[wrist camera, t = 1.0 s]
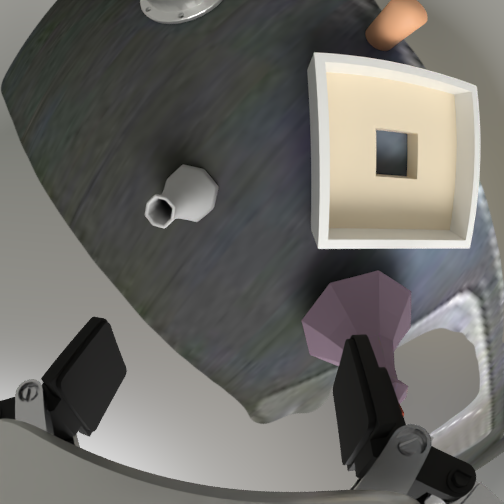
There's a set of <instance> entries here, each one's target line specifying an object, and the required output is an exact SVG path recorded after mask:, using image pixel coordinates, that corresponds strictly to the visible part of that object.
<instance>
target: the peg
mask: <svg viewBox="0 0 504 504" xmlns="http://www.w3.org/2000/svg"><path fill="white" fill-rule="evenodd" d="M426 22H427V13H426V11H425V9H424V8H423V6H422V5H421V4H420V3H419V2H418V1H417V0H391V1H390V2H389V3H388V4H387V5H386V7H385V8H384V9H383V10H382V11H381V12H380V14H379V15H378V16H377V17H376V18H375V20H374V21H373V22H372V23H371V24H370V26H369V27H368V28H367V29H366V32H365V36H366V39H367V41H368V42H369V43H370V44H371V45H372V46H373V47H374V48H376V49H378V50H381V51H387V50H390V49H391V48H393V47H394V46H395V45H397V44H398V43H399V42H400V41H402V40H403V39H404V38H406V37H407V36H408V35H410V34H411V33H412V32H413V31H415V30H416V29H418V28H419V27H421V26H422V25H424V24H425V23H426Z"/></svg>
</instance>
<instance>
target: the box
mask: <svg viewBox="0 0 504 504" xmlns="http://www.w3.org/2000/svg"><path fill="white" fill-rule="evenodd" d="M307 76H308V92H309V110H310V136H311V231H312V233H313V236H314V239H315V242H316V244H317V247H318V249H400V248H470V244H471V239H472V233H473V227H474V221H475V214H476V206H477V198H478V187H479V173H480V117H479V104H478V93H477V86H475V85H473V84H470V83H467V82H465V81H462V80H459V79H456V78H453V77H450V76H447V75H443V74H440V73H437V72H433V71H430V70H426V69H422V68H418V67H414V66H410V65H405V64H401V63H396V62H391V61H386V60H380V59H374V58H367V57H360V56H352V55H342V54H331V53H315V52H314V54H313V56H312V59H311V62H310V64H309V67H308V69H307ZM376 130H382V131H390V132H398V133H406V134H407V176H397V175H384V174H376Z"/></svg>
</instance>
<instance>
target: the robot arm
mask: <svg viewBox="0 0 504 504" xmlns="http://www.w3.org/2000/svg"><path fill="white" fill-rule="evenodd" d="M221 1H222V0H140V6H141V9H142V11H143V12H144V14H145V15H146V16H148V17H149V18H150V19H152V20H154V21H156V22H159V23H165V24H177V23H183V22H187V21H190V20H194V19H196V18H198V17H201V16H203V15H205V14H206V13H208V12H210V11H211V10H212V9H214V8H215V7H216V6H218V5H219V4H220V3H221ZM125 375H126V366H125V364H124V361H123V358H122V356H121V353H120V351H119V348H118V345H117V343H116V340H115V337H114V334H113V331H112V328H111V325H110V324H109V323H108V322H107V320H106V319H104V318H98V317H92V318H91V319H90V320H89V322H87V324H86V325H85V326H84V327H83V328H82V329H81V330H80V332H79V333H78V334H77V335H76V336H75V337H74V339H73V340H72V341H71V342H70V344H69V345H68V346H67V347H66V348H65V350H64V351H63V352H62V353H61V354H60V355H59V357H58V358H57V360H55V362H54V363H53V364H52V365H51V367H50V368H49V369H48V371H47V372H46V373H45V374H44V376H43V377H42V378H41V379H42V381H43V382H44V383H43V384H42V385H41V383H40V382H39V381H37V380H34V379H31V380H27V381H24V382H23V383H22V384H20V385H19V387H18V388H17V390H16V395H15V397H13V398H9V399H6V400H2V401H0V504H504V503H503V502H502V501H501V500H500V499H499V498H498V497H497V496H496V495H495V494H494V493H493V492H492V491H491V490H489V489H488V488H487V487H486V486H485V485H484V484H483V483H482V482H480V483H479V484H478V483H477V482H476V473H475V470H474V469H473V467H472V466H471V465H470V464H468V463H466V462H464V461H462V460H459V459H457V458H455V457H453V456H451V455H449V454H447V453H444V452H442V451H440V450H438V449H436V448H434V447H432V446H431V437H430V435H429V433H428V432H427V431H426V430H425V429H424V428H422V427H421V426H418V425H414V424H410V425H409V424H408V425H406V424H405V421H404V418H403V414H402V411H401V408H400V405H399V402H398V399H397V396H396V393H395V390H394V388H393V385H392V382H391V379H390V376H389V374H388V371H387V369H386V368H385V367H379V365H378V362H377V360H376V357H375V354H374V351H373V349H372V346H371V343H370V341H369V338H368V336H367V335H366V334H361V335H351V337H350V339H346V341H345V344H344V348H343V352H342V356H341V360H340V364H339V368H338V371H337V375H336V378H335V382H334V386H333V396H334V402H335V410H336V417H337V424H338V432H339V439H340V448H341V456H342V463H343V465H347V468H348V471H353V470H355V471H356V476H357V477H358V480H357V481H356V482H355V483H354V485H353V486H352V487H351V488H350V490H338V491H318V492H317V491H316V492H265V491H248V490H237V489H228V488H220V487H213V486H206V485H200V484H194V483H189V482H184V481H180V480H175V479H171V478H166V477H162V476H158V475H155V474H151V473H148V472H144V471H141V470H137V469H134V468H131V467H128V466H125V465H122V464H119V463H116V462H114V461H111V460H108V459H106V458H103V457H101V456H98V455H95V454H93V453H91V452H88V451H86V450H84V449H82V448H80V446H79V443H78V439H77V435H76V433H77V432H78V431H79V432H80V433H82V434H85V435H87V436H90V435H91V433H92V432H93V431H95V430H96V429H97V427H98V425H99V423H100V421H101V419H102V417H103V415H104V413H105V412H106V410H107V408H108V406H109V404H110V402H111V401H112V399H113V397H114V395H115V393H116V391H117V389H118V388H119V386H120V384H121V383H122V381H123V379H124V377H125Z"/></svg>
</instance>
